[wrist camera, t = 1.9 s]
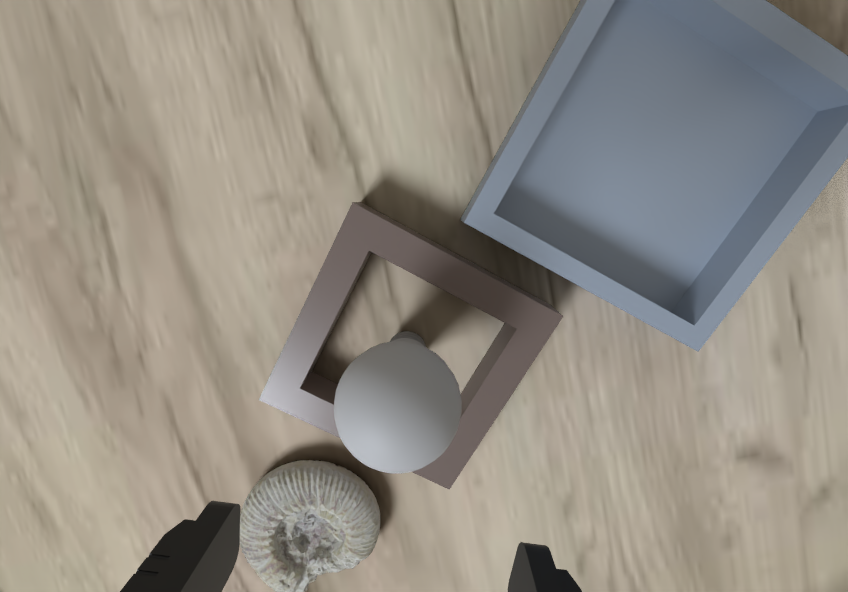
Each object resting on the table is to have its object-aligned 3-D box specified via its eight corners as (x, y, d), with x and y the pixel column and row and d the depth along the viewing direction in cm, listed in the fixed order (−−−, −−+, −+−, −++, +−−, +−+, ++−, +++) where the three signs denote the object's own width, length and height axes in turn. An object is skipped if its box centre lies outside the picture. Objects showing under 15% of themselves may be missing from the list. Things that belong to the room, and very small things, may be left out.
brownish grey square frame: (550, 304, 26) (563, 316, 23) (447, 464, 29) (449, 489, 26) (360, 202, 24) (352, 202, 22) (274, 381, 27) (258, 399, 25)
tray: (838, 104, 22) (898, 90, 20) (668, 334, 26) (698, 351, 23) (607, -49, 21) (635, -89, 18) (460, 219, 24) (463, 222, 22)
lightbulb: (365, 297, 26) (319, 367, 15) (457, 305, 26) (475, 381, 15) (361, 381, 27) (316, 499, 17) (448, 389, 27) (458, 511, 17)
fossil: (321, 639, 28) (204, 566, 28) (338, 591, 32) (234, 527, 32) (396, 532, 26) (267, 453, 26) (406, 493, 29) (293, 424, 29)
